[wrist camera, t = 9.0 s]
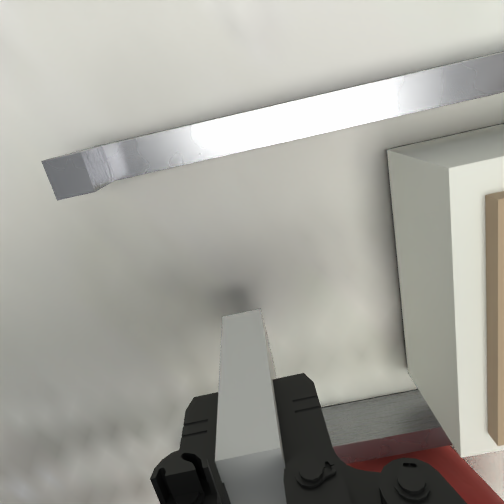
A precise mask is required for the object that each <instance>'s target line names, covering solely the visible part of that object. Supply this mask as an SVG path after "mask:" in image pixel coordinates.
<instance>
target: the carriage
mask: <svg viewBox="0 0 504 504" xmlns="http://www.w3.org/2000/svg"><path fill="white" fill-rule="evenodd" d="M387 156H388V167H389V177H390V188H391V198H392V209H393V219H394V230H395V240H396V250H397V261H398V271H399V282H400V292H401V303H402V313H403V324H404V334H405V344H406V355H407V365H408V374H409V375H410V377H411V378H412V380H413V382H414V383H415V385H416V386H417V388H418V390H419V391H420V393H421V394H422V396H423V398H424V399H425V401H426V402H427V404H428V406H429V407H430V409H431V411H432V412H433V414H434V415H435V417H436V419H437V420H438V422H439V423H440V425H441V427H442V428H443V430H444V431H445V433H446V435H447V436H448V438H449V439H450V441H451V443H452V444H453V446H454V447H455V449H456V451H457V452H458V454H459V455H460V457H461V458H464V457H469V456H475V455H480V454H486V453H491V452H497V451H502V450H504V124H500V125H496V126H491V127H487V128H482V129H478V130H473V131H469V132H464V133H460V134H455V135H451V136H446V137H442V138H437V139H433V140H428V141H424V142H419V143H415V144H410V145H406V146H402V147H397V148H393V149H388V150H387Z"/></svg>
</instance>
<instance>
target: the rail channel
mask: <svg viewBox="0 0 504 504" xmlns="http://www.w3.org/2000/svg"><path fill="white" fill-rule="evenodd" d="M502 92H504V51H503V52H499V53H495V54H490V55H486V56H482V57H477V58H473V59H469V60H465V61H460V62H456V63H452V64H447V65H443V66H439V67H435V68H430V69H426V70H422V71H417V72H413V73H409V74H404V75H400V76H396V77H392V78H387V79H383V80H379V81H374V82H370V83H366V84H362V85H357V86H353V87H349V88H344V89H340V90H336V91H332V92H327V93H323V94H319V95H314V96H310V97H306V98H301V99H297V100H293V101H289V102H284V103H280V104H276V105H271V106H267V107H263V108H259V109H254V110H250V111H246V112H241V113H237V114H233V115H229V116H224V117H220V118H216V119H211V120H207V121H203V122H198V123H194V124H190V125H186V126H181V127H177V128H173V129H168V130H164V131H160V132H156V133H151V134H147V135H143V136H138V137H134V138H130V139H126V140H121V141H117V142H113V143H108V144H104V145H100V146H95V147H92V148H88V149H84V150H81V151H77V152H73V153H70V154H66V155H62V156H58V157H55V158H51V159H47V160H44V161H42V164H43V166H44V169H45V171H46V174H47V176H48V179H49V181H50V184H51V186H52V189H53V191H54V194H55V196H56V199H57V200H61V199H66V198H70V197H75V196H79V195H83V194H88V193H92V192H96V191H97V190H99V189H101V188H103V187H104V186H106V185H108V184H109V183H111V182H113V181H115V180H120V179H124V178H128V177H133V176H137V175H142V174H146V173H150V172H155V171H159V170H164V169H168V168H172V167H177V166H181V165H186V164H190V163H194V162H199V161H203V160H208V159H212V158H216V157H221V156H225V155H229V154H234V153H238V152H243V151H247V150H251V149H256V148H260V147H265V146H269V145H273V144H278V143H282V142H287V141H291V140H295V139H300V138H304V137H309V136H313V135H317V134H322V133H326V132H331V131H335V130H339V129H344V128H348V127H352V126H357V125H361V124H366V123H370V122H374V121H379V120H383V119H388V118H392V117H396V116H401V115H405V114H410V113H414V112H418V111H423V110H427V109H432V108H436V107H440V106H445V105H449V104H454V103H458V102H462V101H467V100H471V99H476V98H480V97H484V96H489V95H493V94H497V93H502ZM321 409H322V413H323V416H324V420H325V423H326V426H327V430H328V433H329V436H330V440H331V443H332V447H333V449H334V451H335V453H336V455H337V456H338V457H339V458H340V460H341V461H343V462H344V463H346V464H350V463H355V462H361V461H366V460H372V459H377V458H383V457H388V456H394V455H399V454H405V453H410V452H415V451H421V450H426V449H432V448H437V447H443V446H448V445H453V444H452V443H451V441H450V439H449V438H448V436H447V435H446V433H445V431H444V430H443V428H442V427H441V425H440V423H439V422H438V420H437V419H436V417H435V415H434V414H433V412H432V411H431V409H430V407H429V406H428V404H427V402H426V401H425V399H424V398H423V396H422V394H421V393H420V391H419V390H414V391H408V392H403V393H398V394H393V395H387V396H382V397H377V398H372V399H366V400H361V401H356V402H351V403H345V404H340V405H335V406H330V407H324V408H321Z"/></svg>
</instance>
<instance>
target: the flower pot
mask: <svg viewBox="0 0 504 504" xmlns="http://www.w3.org/2000/svg"><path fill="white" fill-rule="evenodd" d="M400 458H415V459H418V460H421V461H423V462H426V463H428V464H430V465H431V466H432V467H433V468H435V469H436V470H437V471H438V472H439V473H440V474H441V475H442V476H443V477H444V478H445V479H446V481H447V482H448V483H449V484H450V485H451V486H452V487H453V488H454V489H455V491H456V492H457V493H458V494H459V495H460V496H461V497H462V498H463V499H464V501H465V502H466V503H467V504H504V501H503V500H502V499H501V498H500V497H499V496H498V495H497V494H496V493H495V492H494V491H493V490H492V489H491V488H490V486H489V485H488V484H487V483H486V482H485V481H484V480H483V479H482V478H481V477H480V476H479V475H478V474H477V473H476V472H475V471H474V470H473V469H472V468H471V467H470V466H469V465H468V464H467V463H466V462H465V460H464V459H463V458H461V457H460V455H459V454H458V453H457V452H456V451H455V450H454V449H453V448H452V447H451V446H450V445H448V446H443V447H437V448H432V449H426V450H421V451H415V452H410V453H405V454H399V455H394V456H388V457H383V458H377V459H372V460H366V461H361V462H355V463H350V464H347V465H349V466H351V467H353V468H355V469H359V470H364V471H373V472H381V471H382V469H383V467H384V466H385V465H387V464H388V463H389V462H391V461H392V460H396V459H400Z"/></svg>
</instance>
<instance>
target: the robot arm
mask: <svg viewBox="0 0 504 504" xmlns="http://www.w3.org/2000/svg"><path fill="white" fill-rule="evenodd" d="M150 480H151V482H152V485H153V487H154V489H155V492H156V494H157V497H158V499H159V501H160V504H467V503H466V502H465V501H464V499H463V498H462V497H461V496H460V495H459V494H458V493H457V492H456V491H455V489H454V488H453V487H452V486H451V485H450V484H449V483H448V482H447V481H446V479H445V478H444V477H443V476H442V475H441V474H440V473H439V472H438V471H437V470H436V469H435V468H433V467H432V466H431V465H430V464H428V463H426V462H423V461H421V460H418V459H415V458H400V459H396V460H392V461H391V462H389V463H388V464H387V465H385V466H384V467H383V469H382V471H381V472H373V471H364V470H359V469H355V468H353V467H351V466H349V465H347V464H346V463H344V462H343V461H341V460H340V458H339V457H338V456H337V455H336V453H335V451H334V449H333V447H332V443H331V440H330V436H329V433H328V430H327V426H326V423H325V420H324V416H323V413H322V409H321V406H320V403H319V399H318V396H317V393H316V389H315V386H314V382H312V381H311V380H310V379H309V378H308V377H307V376H306V375H305V374H304V373H302V374H297V375H292V376H287V377H283V378H278V379H277V378H276V372H275V366H274V362H273V358H272V353H271V349H270V345H269V341H268V337H267V332H266V328H265V324H264V320H263V315H262V311H261V308H260V309H256V310H251V311H247V312H242V313H237V314H233V315H228V316H224V317H222V334H221V353H220V373H219V392H217V393H212V394H207V395H203V396H198V397H194V398H193V400H192V401H191V403H190V405H189V406H188V408H187V409H186V412H185V419H184V427H183V431H182V438H181V444H180V450H178V451H175V452H173V453H171V454H170V455H168V456H167V457H165V458H164V459H162V460H161V462H160V463H159V464H158V465H157V466H156V468H155V469H154V471H153V473H152V476H151V478H150Z"/></svg>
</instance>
